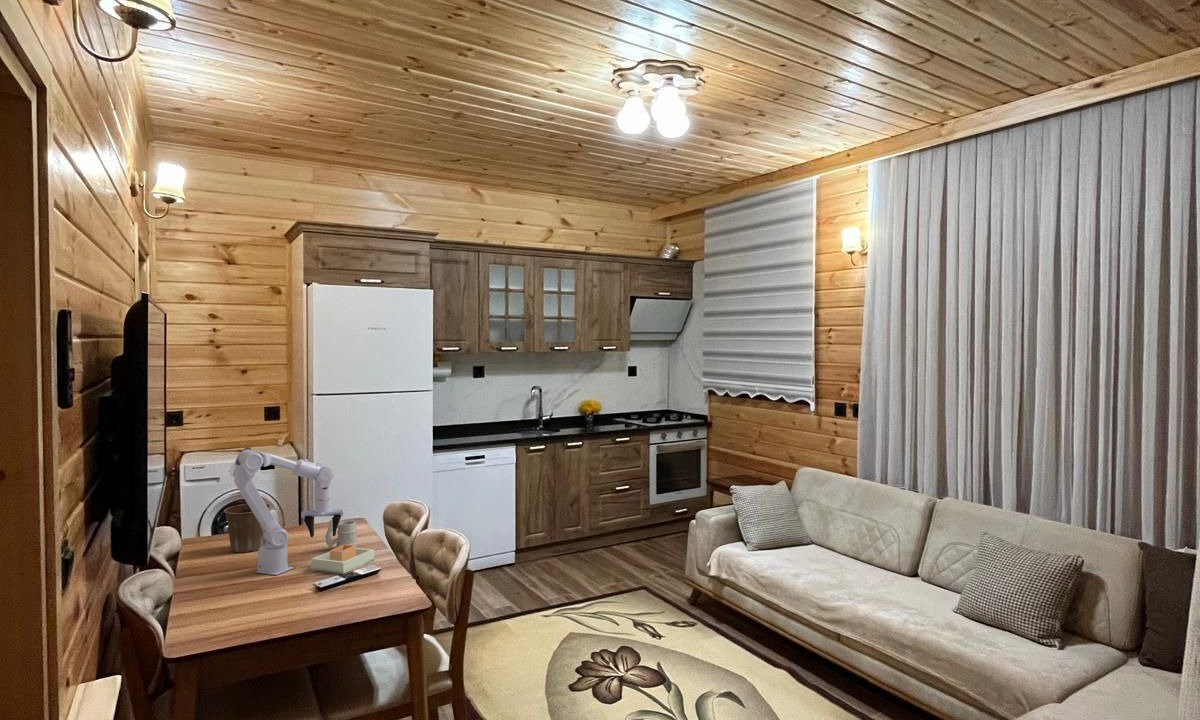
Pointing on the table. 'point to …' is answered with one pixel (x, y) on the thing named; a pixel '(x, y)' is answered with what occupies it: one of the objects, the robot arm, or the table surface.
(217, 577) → the table surface
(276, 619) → the table surface
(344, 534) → the mug
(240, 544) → the plant pot
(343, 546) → the box
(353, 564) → the big crate
